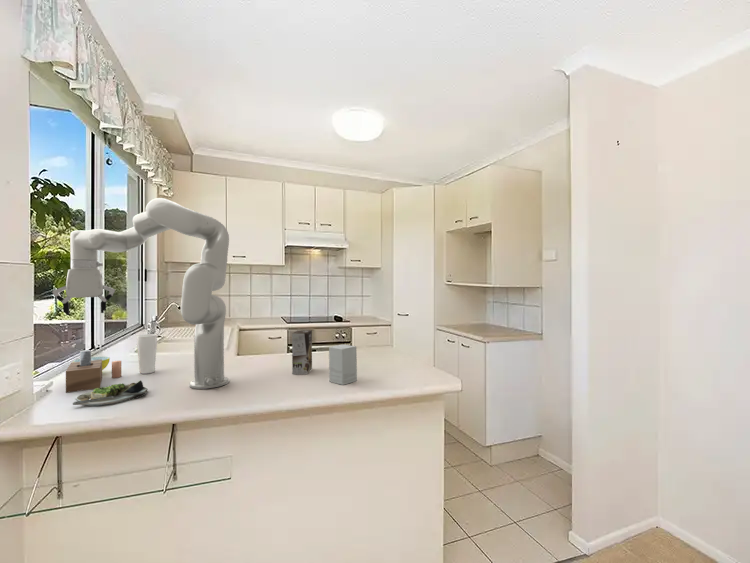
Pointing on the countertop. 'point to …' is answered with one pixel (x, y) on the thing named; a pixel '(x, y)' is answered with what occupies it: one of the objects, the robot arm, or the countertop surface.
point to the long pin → (85, 358)
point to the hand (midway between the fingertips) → (85, 313)
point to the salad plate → (111, 394)
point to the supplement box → (342, 364)
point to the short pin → (116, 369)
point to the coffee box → (302, 352)
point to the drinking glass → (147, 352)
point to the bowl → (104, 359)
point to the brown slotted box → (83, 376)
